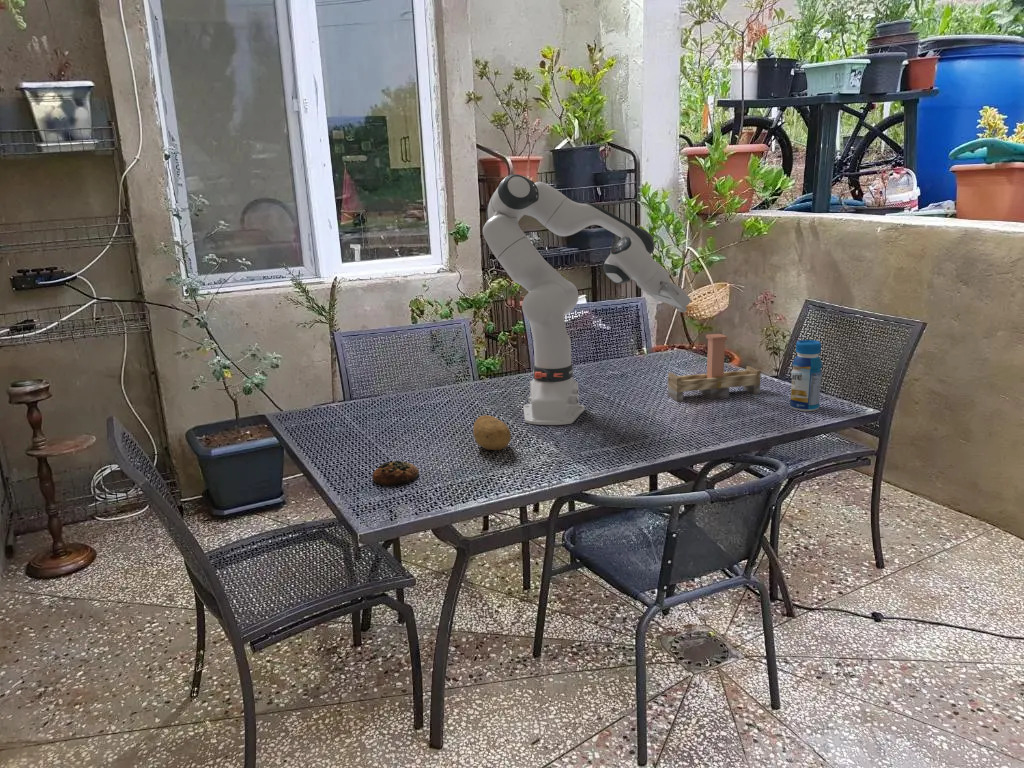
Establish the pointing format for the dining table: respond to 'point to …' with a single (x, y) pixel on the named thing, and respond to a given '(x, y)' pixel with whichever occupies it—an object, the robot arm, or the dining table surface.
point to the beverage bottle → (806, 376)
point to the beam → (714, 383)
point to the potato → (491, 433)
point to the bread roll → (395, 473)
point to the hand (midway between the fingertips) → (683, 310)
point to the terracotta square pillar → (715, 355)
